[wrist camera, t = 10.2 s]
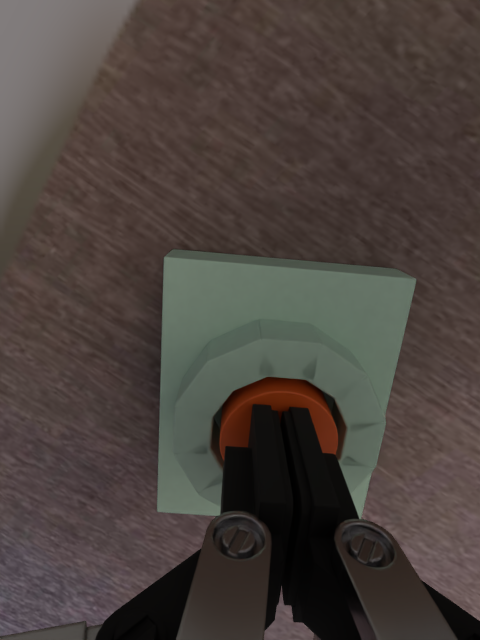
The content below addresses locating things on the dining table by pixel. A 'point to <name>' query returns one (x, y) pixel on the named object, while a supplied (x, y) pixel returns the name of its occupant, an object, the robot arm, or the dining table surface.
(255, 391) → the button
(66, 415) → the dining table surface
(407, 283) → the block
